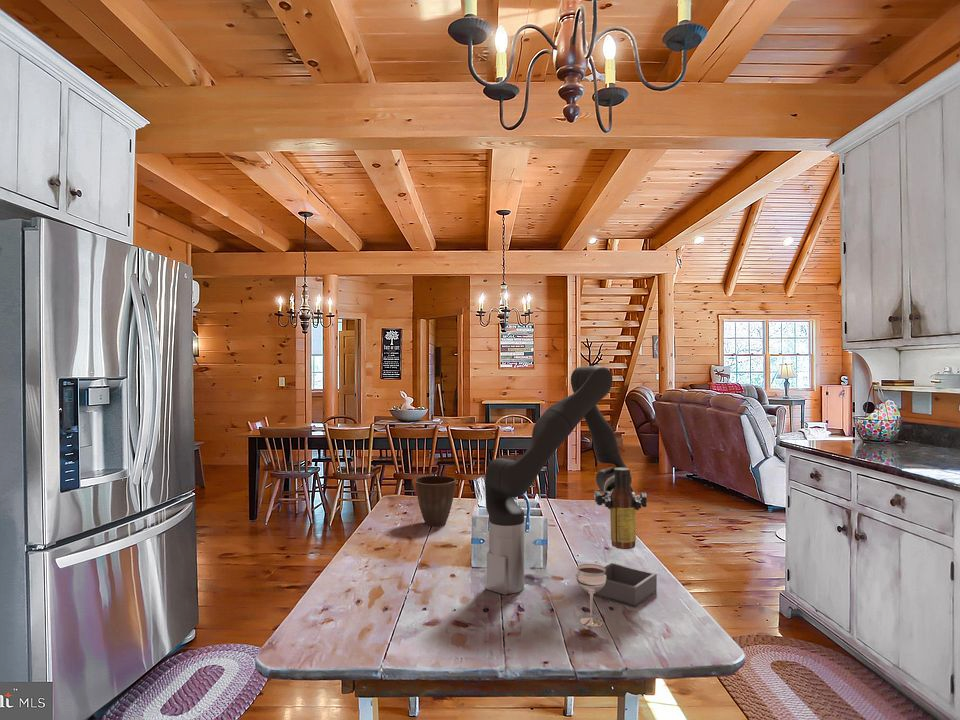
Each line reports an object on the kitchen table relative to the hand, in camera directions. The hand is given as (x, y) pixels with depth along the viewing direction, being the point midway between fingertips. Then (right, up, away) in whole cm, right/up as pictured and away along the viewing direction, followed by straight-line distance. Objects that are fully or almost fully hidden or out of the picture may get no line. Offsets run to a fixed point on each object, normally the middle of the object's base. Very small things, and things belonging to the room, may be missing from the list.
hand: (623, 505), depth 149 cm
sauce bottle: (0, -11, +2) cm, 11 cm away
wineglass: (-11, -23, -15) cm, 29 cm away
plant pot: (-52, -23, +66) cm, 87 cm away
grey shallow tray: (0, -23, +2) cm, 23 cm away
